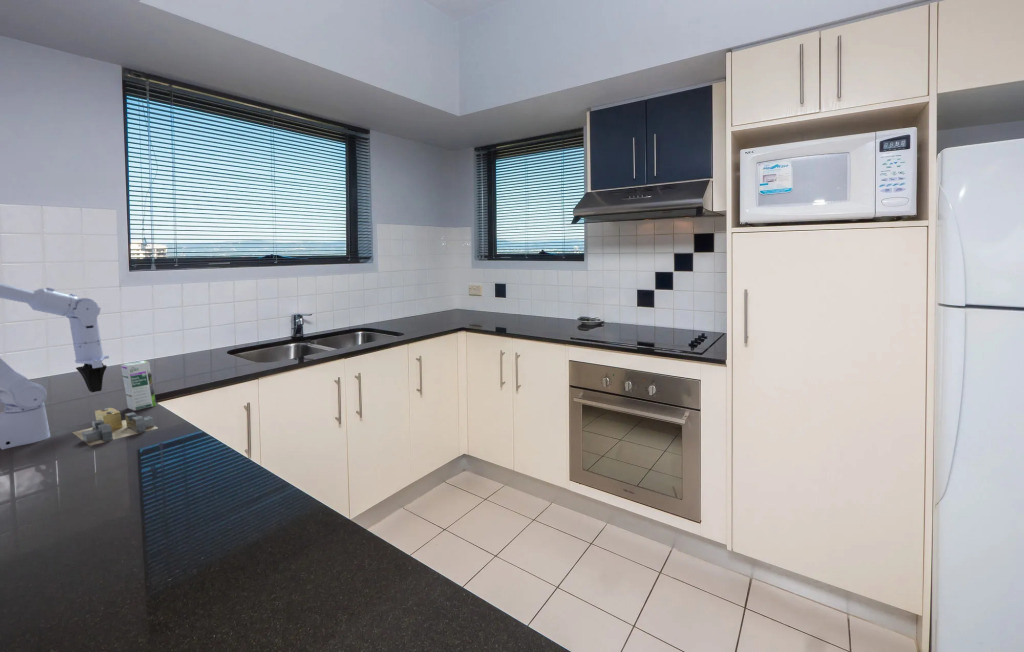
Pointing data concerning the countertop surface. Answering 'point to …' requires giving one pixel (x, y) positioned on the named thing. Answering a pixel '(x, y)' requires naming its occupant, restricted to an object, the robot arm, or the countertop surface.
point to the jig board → (113, 433)
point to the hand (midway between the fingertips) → (95, 391)
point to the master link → (109, 417)
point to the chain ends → (105, 432)
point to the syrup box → (138, 385)
